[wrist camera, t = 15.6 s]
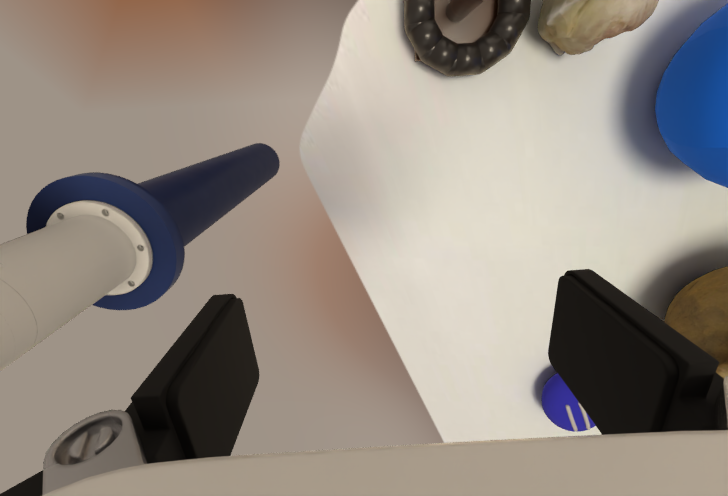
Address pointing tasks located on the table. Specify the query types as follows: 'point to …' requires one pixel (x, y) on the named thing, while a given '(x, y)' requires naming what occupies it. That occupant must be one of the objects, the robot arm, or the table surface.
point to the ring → (465, 55)
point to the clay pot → (704, 315)
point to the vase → (698, 100)
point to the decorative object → (564, 406)
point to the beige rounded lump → (589, 21)
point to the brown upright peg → (464, 19)
